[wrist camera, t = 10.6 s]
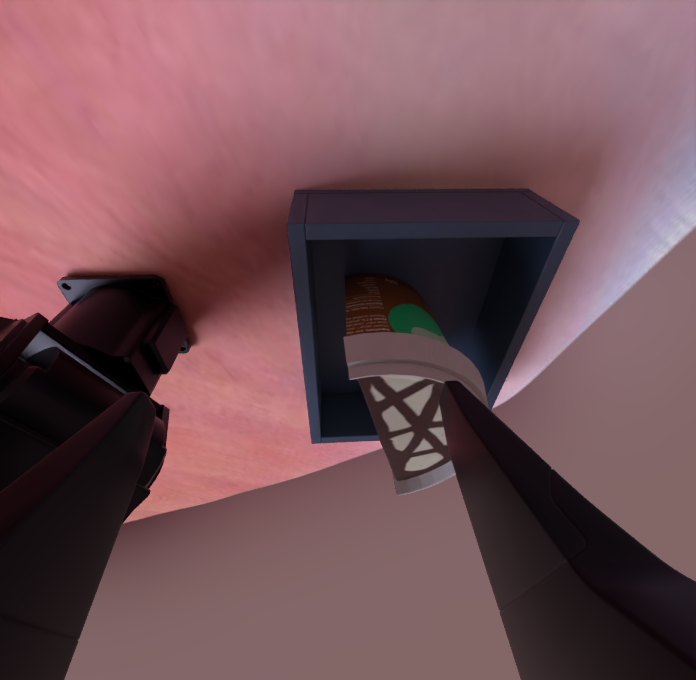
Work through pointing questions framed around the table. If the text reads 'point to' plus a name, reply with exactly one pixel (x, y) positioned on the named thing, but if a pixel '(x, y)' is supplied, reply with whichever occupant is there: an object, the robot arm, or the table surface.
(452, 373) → the food container
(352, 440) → the tote
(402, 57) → the table surface
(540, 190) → the table surface
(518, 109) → the table surface
